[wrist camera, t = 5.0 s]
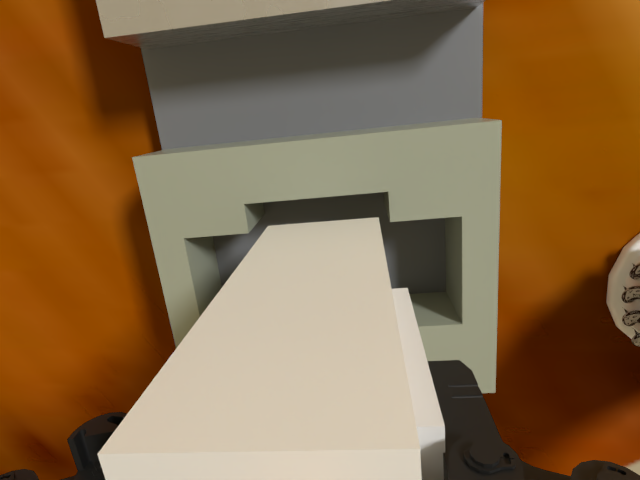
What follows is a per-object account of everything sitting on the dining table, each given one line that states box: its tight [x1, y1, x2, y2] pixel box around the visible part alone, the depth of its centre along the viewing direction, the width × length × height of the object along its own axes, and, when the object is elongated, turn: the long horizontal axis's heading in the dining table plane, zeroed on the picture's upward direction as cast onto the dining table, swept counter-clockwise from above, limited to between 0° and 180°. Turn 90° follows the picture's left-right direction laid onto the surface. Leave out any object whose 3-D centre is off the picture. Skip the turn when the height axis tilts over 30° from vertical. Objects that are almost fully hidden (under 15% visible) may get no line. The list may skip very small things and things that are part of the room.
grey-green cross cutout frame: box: [132, 118, 502, 393], centre depth 21 cm, size 12×15×4 cm
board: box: [141, 3, 483, 294], centre depth 20 cm, size 30×16×2 cm, turn 6°
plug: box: [97, 217, 422, 480], centre depth 11 cm, size 6×4×15 cm
